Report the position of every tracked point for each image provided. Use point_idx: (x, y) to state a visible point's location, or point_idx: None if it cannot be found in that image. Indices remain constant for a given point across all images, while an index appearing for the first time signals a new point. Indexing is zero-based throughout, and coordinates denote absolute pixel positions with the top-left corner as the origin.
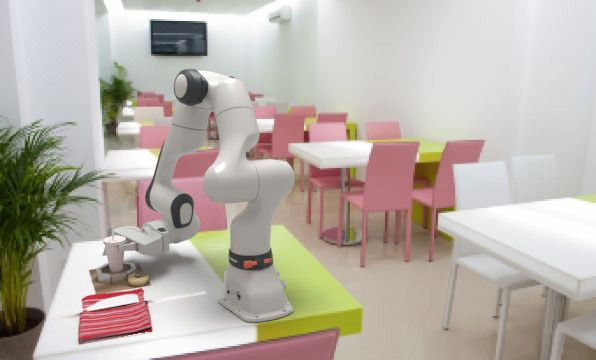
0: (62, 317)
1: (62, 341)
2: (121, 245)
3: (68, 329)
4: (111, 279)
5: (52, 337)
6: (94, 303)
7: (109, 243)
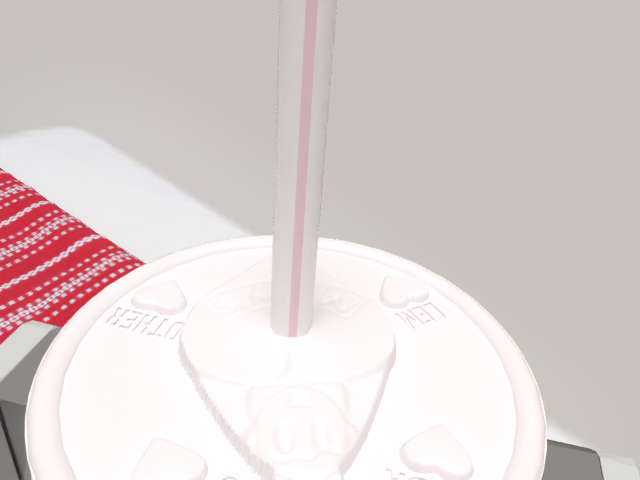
0: (177, 225)
1: (46, 156)
2: (28, 347)
3: (79, 190)
4: None
5: (100, 160)
6: (84, 288)
7: (239, 256)
